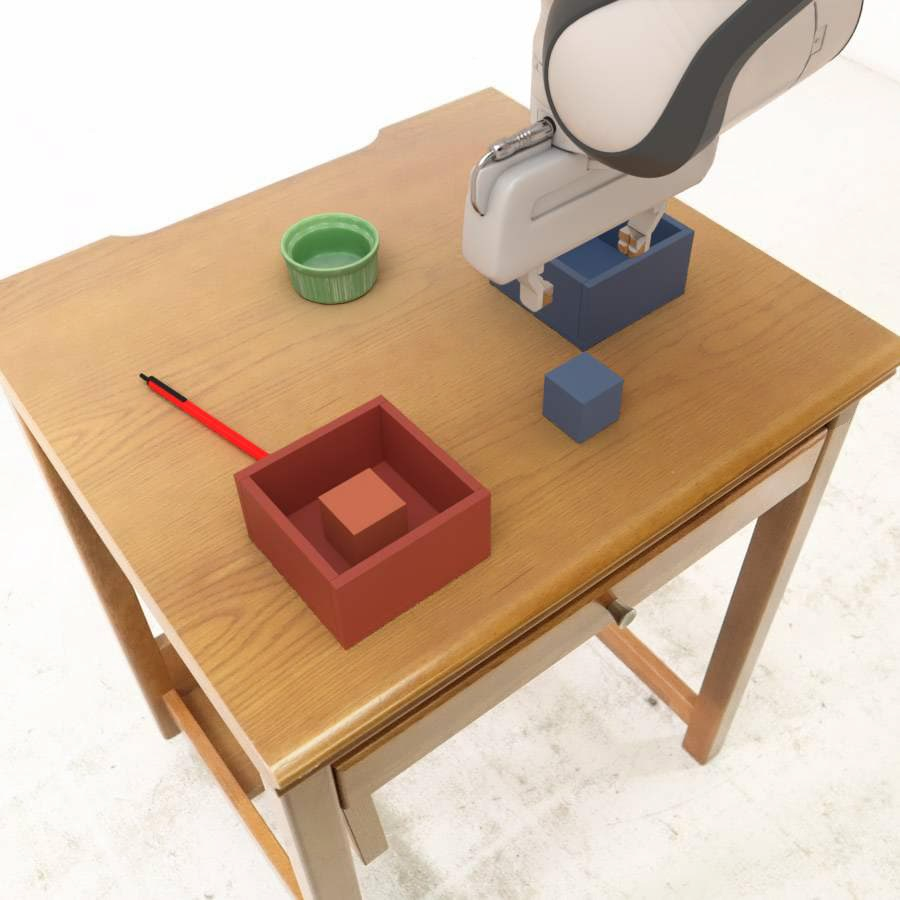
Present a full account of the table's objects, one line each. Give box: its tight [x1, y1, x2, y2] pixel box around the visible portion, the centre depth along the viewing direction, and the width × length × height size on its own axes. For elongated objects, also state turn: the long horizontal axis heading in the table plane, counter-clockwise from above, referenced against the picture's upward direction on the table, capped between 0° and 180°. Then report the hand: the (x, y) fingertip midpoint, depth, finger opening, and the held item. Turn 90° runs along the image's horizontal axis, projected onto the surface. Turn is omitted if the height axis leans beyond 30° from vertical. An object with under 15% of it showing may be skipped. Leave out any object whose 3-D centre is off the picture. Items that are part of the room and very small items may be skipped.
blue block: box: [541, 350, 625, 444], centre depth 84 cm, size 4×4×4 cm
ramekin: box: [279, 212, 381, 305], centre depth 98 cm, size 9×9×4 cm
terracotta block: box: [318, 468, 409, 567], centre depth 75 cm, size 4×4×4 cm
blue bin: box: [489, 212, 696, 352], centre depth 95 cm, size 13×13×7 cm
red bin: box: [233, 394, 492, 651], centre depth 75 cm, size 13×13×7 cm
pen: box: [138, 372, 271, 461], centre depth 85 cm, size 1×19×1 cm, turn 50°
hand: (585, 277), depth 75 cm, fingers open, 8 cm apart
